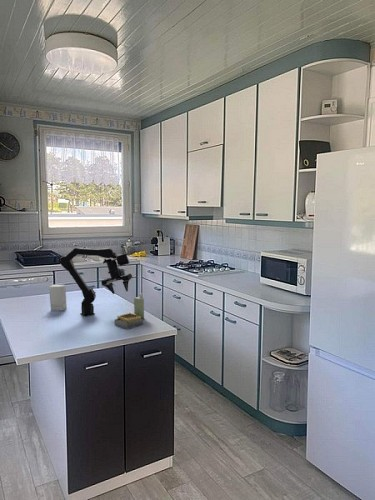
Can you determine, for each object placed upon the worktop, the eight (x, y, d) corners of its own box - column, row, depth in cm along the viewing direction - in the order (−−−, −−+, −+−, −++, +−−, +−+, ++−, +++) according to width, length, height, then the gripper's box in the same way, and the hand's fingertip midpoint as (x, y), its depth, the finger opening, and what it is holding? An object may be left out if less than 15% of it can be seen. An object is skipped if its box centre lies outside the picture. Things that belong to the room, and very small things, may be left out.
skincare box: (67, 308, 246) (66, 284, 245) (62, 311, 240) (61, 286, 238) (54, 308, 247) (53, 284, 245) (49, 310, 241) (48, 286, 239)
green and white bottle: (138, 321, 220) (138, 295, 218) (132, 319, 224) (132, 293, 222) (146, 318, 224) (145, 293, 222) (139, 317, 228) (139, 292, 226)
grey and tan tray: (127, 329, 205) (127, 320, 205) (114, 324, 213) (114, 316, 212) (143, 324, 214) (143, 316, 213) (130, 320, 221) (130, 312, 220)
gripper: (132, 261, 236) (139, 285, 238) (106, 267, 242) (113, 291, 244) (124, 266, 226) (131, 291, 228) (97, 272, 232) (105, 296, 234)
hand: (120, 292), depth 234 cm, fingers open, 9 cm apart
